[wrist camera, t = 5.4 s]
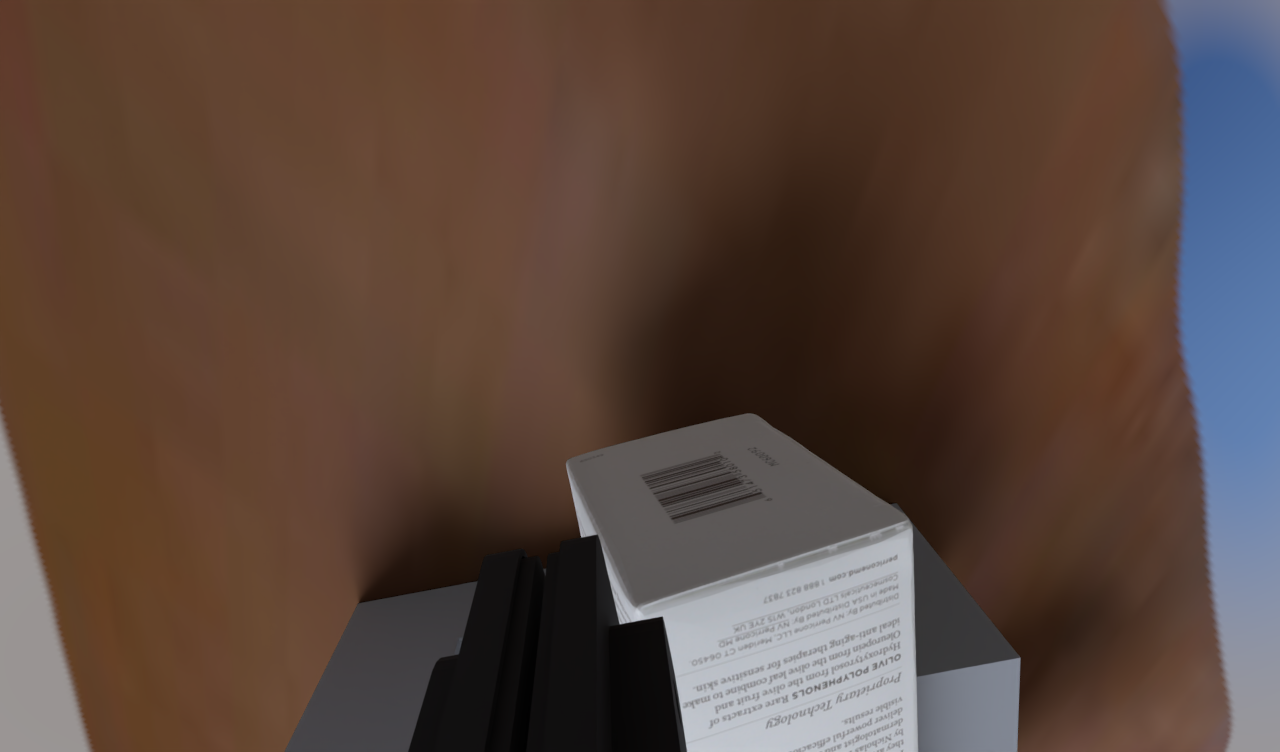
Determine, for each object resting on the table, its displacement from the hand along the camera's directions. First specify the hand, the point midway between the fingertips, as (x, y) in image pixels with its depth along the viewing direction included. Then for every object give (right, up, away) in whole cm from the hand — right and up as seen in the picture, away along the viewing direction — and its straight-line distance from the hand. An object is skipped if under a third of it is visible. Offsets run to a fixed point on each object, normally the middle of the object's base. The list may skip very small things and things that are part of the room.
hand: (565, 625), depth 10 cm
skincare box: (+3, +1, +7) cm, 7 cm away
